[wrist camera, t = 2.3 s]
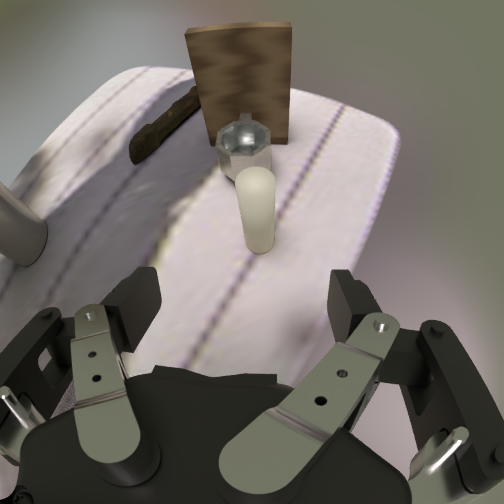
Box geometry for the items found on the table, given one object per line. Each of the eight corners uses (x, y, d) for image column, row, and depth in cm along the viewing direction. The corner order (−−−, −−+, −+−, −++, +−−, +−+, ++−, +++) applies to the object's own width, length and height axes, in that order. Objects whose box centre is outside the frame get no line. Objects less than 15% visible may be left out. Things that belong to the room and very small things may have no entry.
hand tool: (196, 98, 48) (191, 80, 44) (211, 102, 47) (207, 83, 42) (126, 161, 42) (115, 143, 38) (139, 169, 41) (129, 150, 37)
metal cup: (219, 182, 36) (213, 157, 31) (225, 136, 40) (221, 111, 35) (270, 181, 36) (270, 156, 31) (270, 135, 39) (269, 110, 35)
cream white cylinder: (245, 253, 34) (233, 198, 23) (246, 228, 35) (236, 166, 24) (273, 254, 34) (276, 198, 23) (274, 228, 35) (275, 166, 24)
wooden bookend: (210, 145, 42) (184, 34, 23) (215, 122, 44) (194, 19, 26) (287, 144, 41) (291, 27, 22) (285, 120, 43) (288, 13, 25)
